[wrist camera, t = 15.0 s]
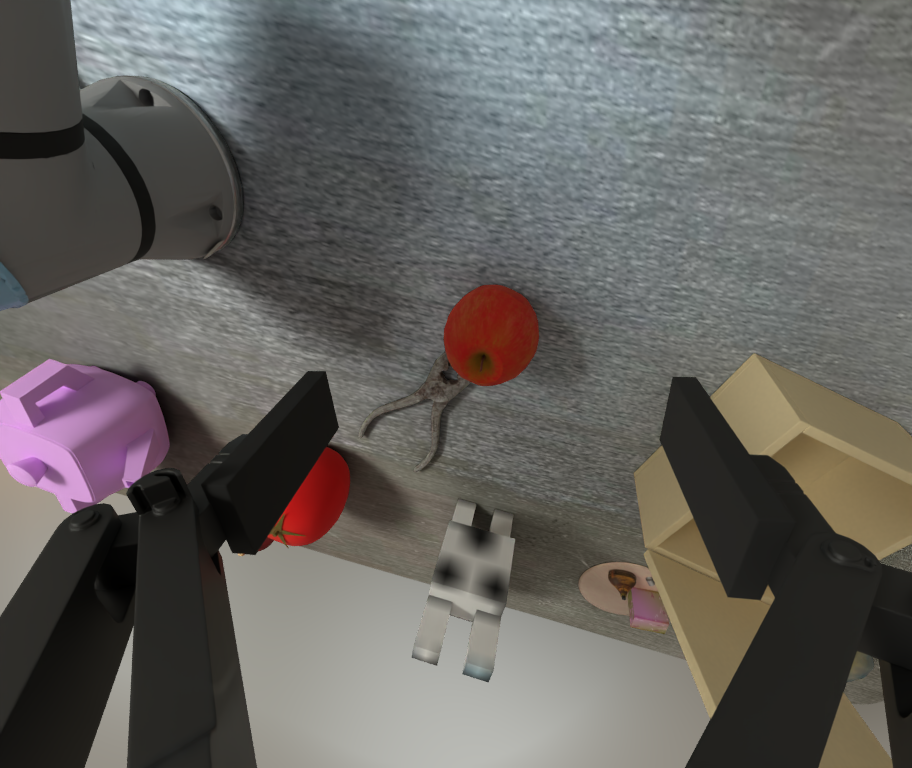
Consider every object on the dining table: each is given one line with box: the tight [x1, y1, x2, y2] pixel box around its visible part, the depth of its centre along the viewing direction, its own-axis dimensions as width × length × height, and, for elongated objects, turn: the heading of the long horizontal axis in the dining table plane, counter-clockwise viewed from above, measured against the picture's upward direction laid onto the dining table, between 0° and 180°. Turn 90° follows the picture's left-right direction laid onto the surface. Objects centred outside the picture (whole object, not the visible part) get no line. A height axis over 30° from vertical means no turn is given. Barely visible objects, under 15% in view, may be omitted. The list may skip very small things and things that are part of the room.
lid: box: [644, 549, 893, 768], centre depth 33 cm, size 18×15×9 cm
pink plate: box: [578, 562, 669, 634], centre depth 58 cm, size 12×12×4 cm
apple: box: [444, 285, 539, 386], centre depth 37 cm, size 8×8×11 cm
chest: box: [634, 353, 912, 605], centre depth 39 cm, size 18×15×10 cm
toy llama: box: [412, 499, 515, 682], centre depth 51 cm, size 8×18×20 cm, turn 172°
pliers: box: [358, 352, 470, 472], centre depth 49 cm, size 10×1×20 cm
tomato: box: [268, 447, 350, 547], centre depth 54 cm, size 12×12×13 cm
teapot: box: [0, 359, 170, 514], centre depth 56 cm, size 19×18×15 cm
